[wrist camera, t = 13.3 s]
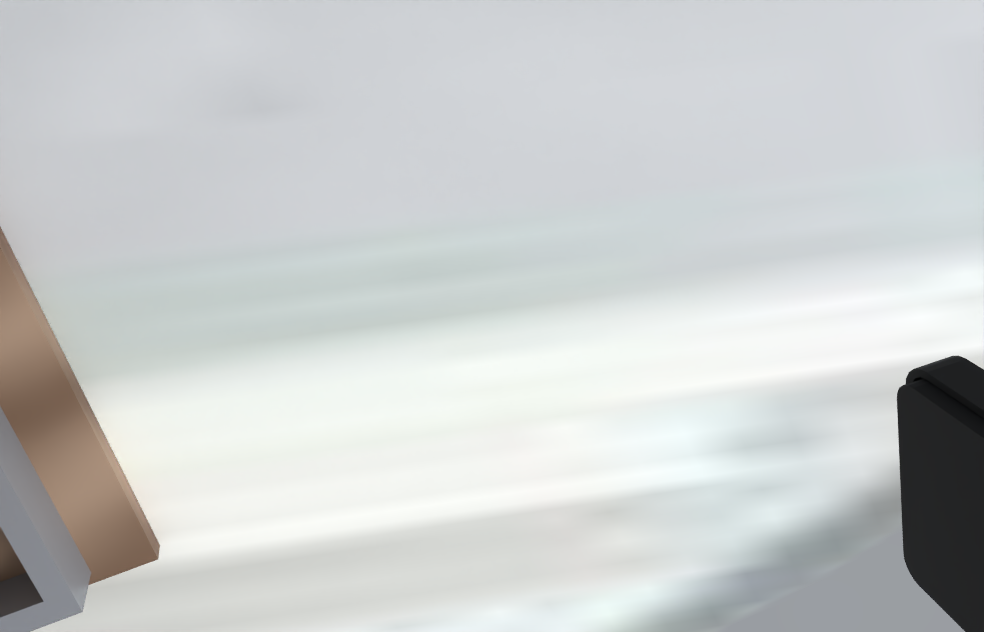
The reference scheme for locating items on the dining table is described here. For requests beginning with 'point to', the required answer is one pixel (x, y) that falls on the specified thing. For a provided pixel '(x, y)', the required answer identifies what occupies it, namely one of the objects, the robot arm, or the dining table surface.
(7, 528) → the pocket board
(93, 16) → the dining table surface
